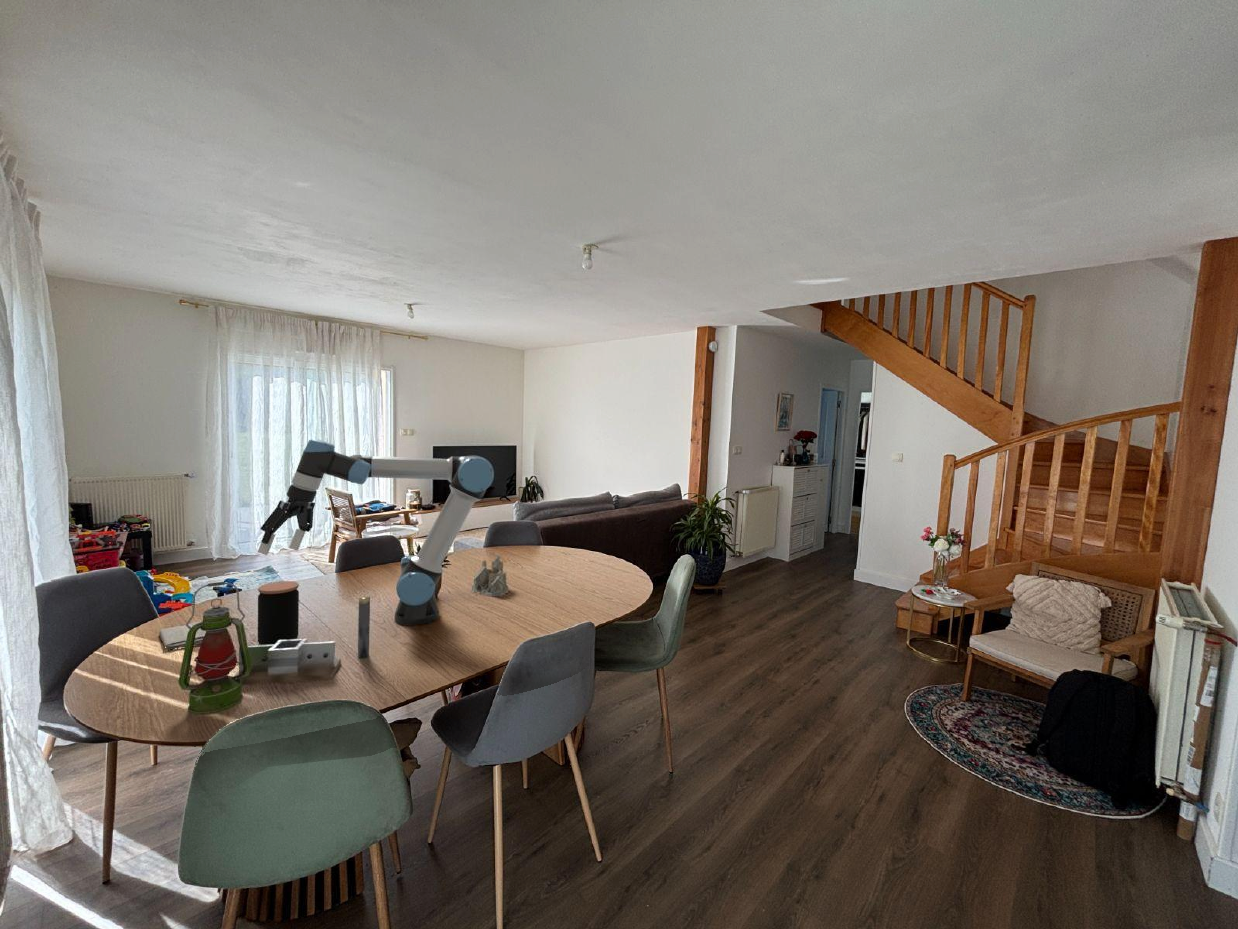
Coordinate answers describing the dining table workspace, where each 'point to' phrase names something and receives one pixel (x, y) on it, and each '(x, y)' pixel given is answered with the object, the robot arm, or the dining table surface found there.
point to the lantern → (215, 661)
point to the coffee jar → (278, 612)
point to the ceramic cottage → (491, 579)
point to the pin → (363, 627)
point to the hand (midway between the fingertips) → (278, 551)
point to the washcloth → (179, 636)
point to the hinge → (290, 656)
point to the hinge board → (301, 676)
